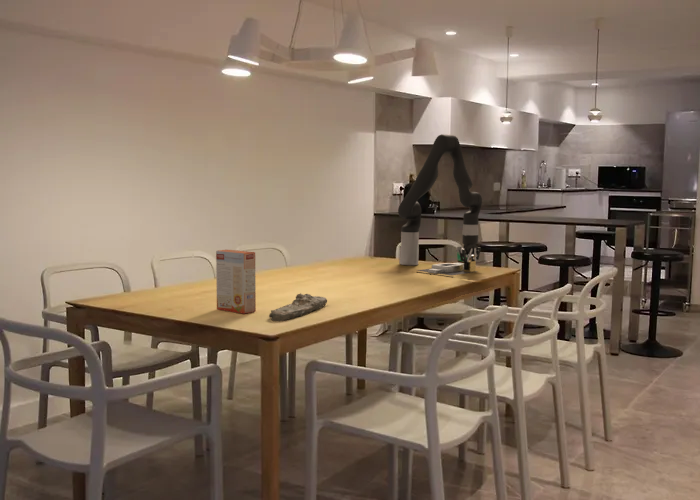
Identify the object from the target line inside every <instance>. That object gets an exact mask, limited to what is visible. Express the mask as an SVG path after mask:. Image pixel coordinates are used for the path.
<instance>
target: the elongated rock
mask: <svg viewBox="0 0 700 500" xmlns="http://www.w3.org/2000/svg"><path fill="white" fill-rule="evenodd" d="M327 303H328V299H327V297H324V296H318V295H315V296H314V295H313V296H312V295H311V294H309V293H305V294H304V293H301V292H300V293H297V294H296V296H295V299H294V300H293V301H292V303H288V304H286V305H284V306H280V307H277V308H276V309H273V310H270V313H269V314H268V318H269V319H270V320H271V321H273V322H274V321H275V322H285V321H287V320H290V319H295V318H298V317H299V318H300V317H301V316H305V315H308V314H311V312H314V311H317V310H319V309H322V308H324V306H326V304H327ZM307 313H308V314H307Z"/></svg>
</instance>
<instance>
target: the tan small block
mask: <svg viewBox="0 0 700 500" xmlns="http://www.w3.org/2000/svg"><path fill="white" fill-rule="evenodd" d="M476 262H477V260H476V261H469V270H464V272H473V273H476V272H475V271H476V266H477V265H476V264H477V263H476Z"/></svg>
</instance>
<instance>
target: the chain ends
mask: <svg viewBox="0 0 700 500" xmlns="http://www.w3.org/2000/svg"><path fill="white" fill-rule="evenodd" d="M431 268H432V269H431ZM431 268H427V269H428V272H427V273H430V274H437V275H438V273H451V272H459V271H463V270H464V263H458V262H453V263H452V262H445V263H437V264H431Z"/></svg>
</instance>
